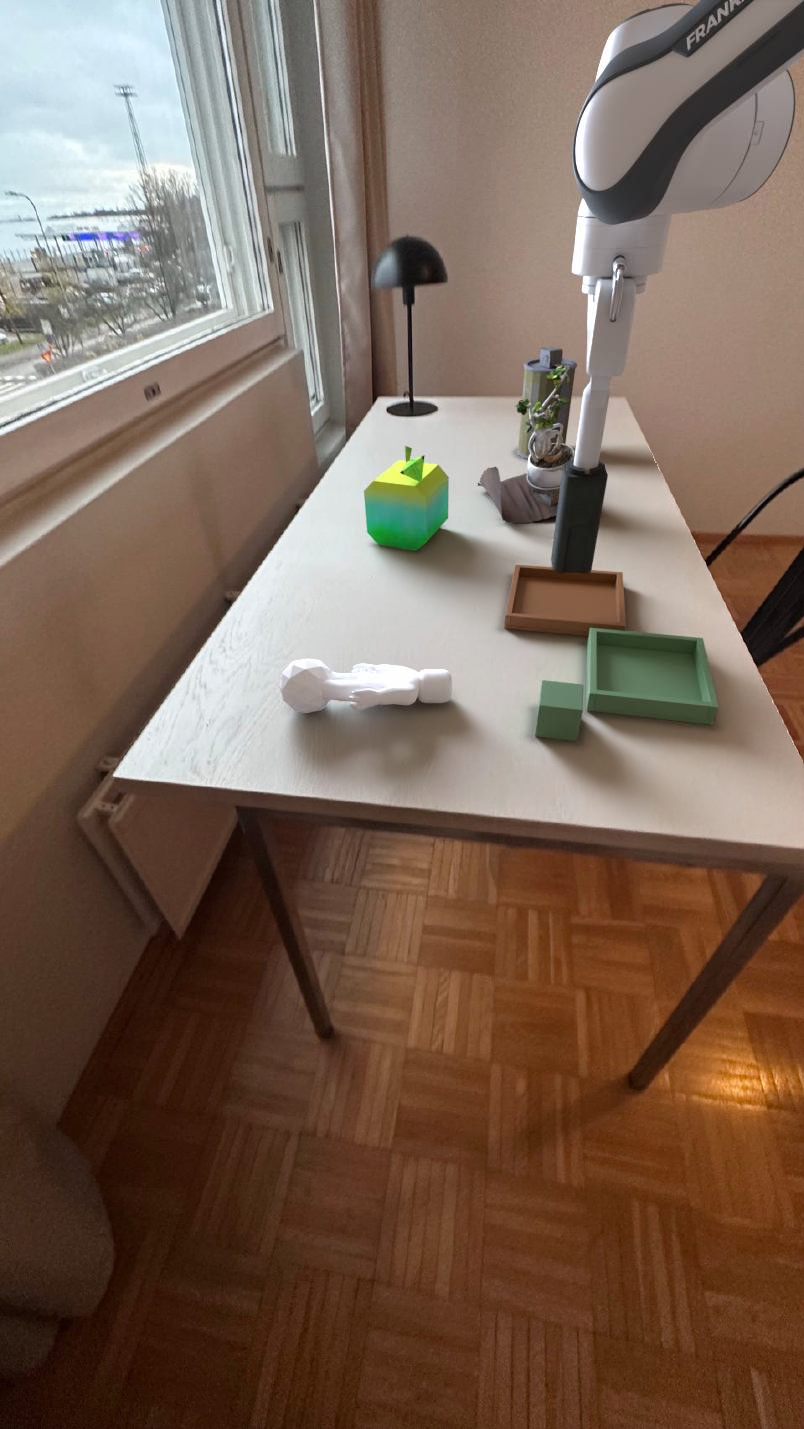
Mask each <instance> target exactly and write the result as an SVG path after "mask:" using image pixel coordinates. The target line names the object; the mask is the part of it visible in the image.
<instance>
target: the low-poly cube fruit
mask: <svg viewBox="0 0 804 1429" xmlns="http://www.w3.org/2000/svg"><path fill="white" fill-rule="evenodd" d="M412 450H413V448H412V447H409V446H407V445H404V452H405V459H404V460H403V459H398V460H397V461H396V462H394V463H393V464H392V465H391V466H390V467H388V468H387V469H386V470H384V472H382V473H381V474H380V475H378V477H376V478H375V479H374V480H372V481H371V483H370V484H369V485H368V486H367V487H366V488H365V489H364V490H363V496H364V508H365V509H364V510H365V521H366V522H365V523H366V533H367V534H368V536H370V537H371V538H372V540H373V541H374V542H375V543H376V544H377V545H379V546H385V547H392V548H397V549H403V550H409V551H413V552H414V551H415V552H417V551H418V550H419V549H420V548H422V547H423V546H424V545H425V544H426V543H427V542H428V541H429V540H430V539H431V538H432V537H433V536H434V535H435V534H436V533H437V532H438V530H439V529H440V528H441V527H442V526H443V525H444V523H446V521H447V520H448V519H449V489H450V488H449V487H450V484H449V483H450V482H449V481H450V478H449V475H448V474H447V473H446V471H444V470H443V468H442V467H441V466H440V464H437V463H428V462H425V456H426V455H421V456H418V457H414V458H411V456H412Z"/></svg>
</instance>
